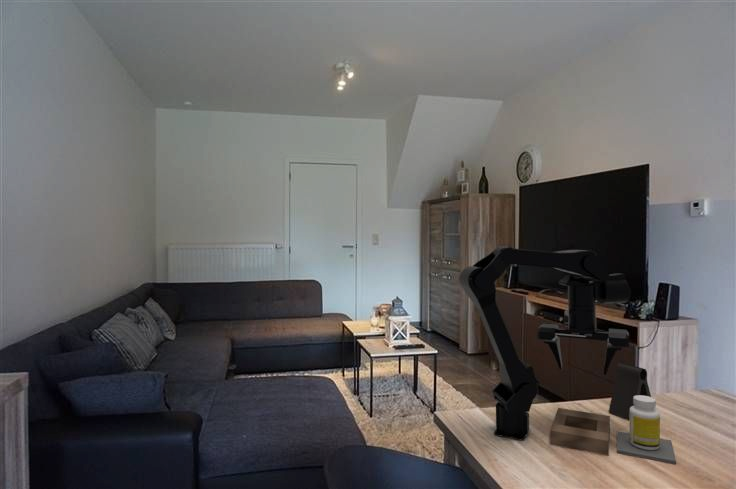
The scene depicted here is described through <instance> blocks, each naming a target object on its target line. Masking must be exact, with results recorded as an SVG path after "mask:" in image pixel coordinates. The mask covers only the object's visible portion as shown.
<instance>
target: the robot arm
mask: <svg viewBox="0 0 736 489" xmlns="http://www.w3.org/2000/svg"><path fill="white" fill-rule="evenodd" d="M511 265H519V266H531V267H541V268H551V269H556V270H558V271H561V272H565V273H568V274H565V275H564V277H563V278H561V279H560V280H559V281H558V284H559V285H562V286H566V287H567V306H568V307H567V309H565V310H564V313H563V314H564V316H563V322H564V324H565V325H568V328H559V325H558V324H550V323H542V324H541V325H540V326H539V327H538V328H537V339H538V340H543V344H545V345H546V344H547V345H548V347H549V348H550V350H551V352H552V354H553V356H554V359H555V362H556V363H557V366H558V369H559V371H560V370H561V371H562V369H563V359H562V352H561V342H560V341H561V340H560V338H572V339H582V340H583V339H585V340H595V341H606V342H607V344H606V350H605V357H604V358H605V360H604V363H603V364H604V366H603V375H604V376H606V375H607V373H608V370H609V368H610V365H611V362H612V360H613V358H614V356H615V355H616V353H617V351H623V348H629V347H630V332H629V331H628V330H627V329H620V328H608V332H605V331H597V329H598V325H597V324H598V322H597V321H598V320H597V315H596V313H597V311H596V307H597V305H596V304H597V303H596V302H598V303H599V304H601V305H602V304H603V305H604V304H624V303H627V302H629V301H630V299H631V297H632V289H631V287H630V284H629V282H628V281H627V280H626V279H625V274H624V273H619V272H618V273H612V274H609V273H608V271H607V270H606V269H605V267H604V266H603V265H602V263H601V261H600V257H599V256H598V254H597V253H596V252H595V251H593V250H588V249H587V250H585V249H567V250H566V249H565V250H559V251H545V250H537V249H536V250H535V249H525V248H515V247H514V248H513V247H511V246H505V245H504V246H503V245H502V246H500V245H499V246H497V247H496V248H494V250H493V251H491V252H490V253H489V254H487V255H486V256H484V257H482V258H480V260H478V261H477V262H475V263H474V264H473V265H469V266H466V267H465V268H463V270H462V271H461V272H460V274H459V276H458V279H459V284H460V287H462V289H463V291H464V292H465V294H466V295H467V297H468V298H469V299H470V300H471V302H472V303H473V304H474V306H475V307H476V309H477V312H478V314H479V316H480V319H481V321H482V324H483V327H484V328H485V330H486V334H487V336H488V338H489V341H490V344H491V345H492V348H493V351H494V353H495V355H496V359H497V360H498V363H499V365H498V367H499V368H498V369H499V371H498V373H499V377H500V382H499V383H498V384H497V385H496V386H495V387H494V388H493V389H492V390H491V395H492V397H493V399H494V400H495V401H496V402H497V403H496V404H495V430H494V432H493V434H494V436H499V437H504V438H509V439H515V440H520V441H524V440H525V438H526V437H527V436H528V434H529V432H530V413H529V412H530V410H531V407H532V404H533V401H534V400H535V398H536V396H537V394H539V387H538V384H540V381H539V380H538V379H537V378H536V375H535V371H534V367H533V366H532V365H530V364H529V363H527V362H526V361H524V360H523V359H520V358H519V356H518V354H517V351H516V349H515V346H514V343H513V341H512V338H511V336H510V333H509V331H508V328H507V326H506V323H505V321H504V319H503V316H502V314H501V311H500V309H499V306H498V304H497V288H496V284H495V282H496V281H497V280H498V279H499V278H501V277H502V275H503V274H504V272H505V271H506V270H507V268H508V267H510V266H511ZM572 274H573V275H579V276H580V277H574V276H573V275H572ZM588 279H592V280H590V281H589V280H588Z"/></svg>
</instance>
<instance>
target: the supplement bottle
mask: <svg viewBox="0 0 736 489" xmlns="http://www.w3.org/2000/svg"><path fill="white" fill-rule="evenodd" d="M633 404H634V406H632V407H630V410H629V420H628V421H629V425H628V426H629V430H628V431H629V432H628V433H629V439H630V443H631V444H632V445H634V446H635V447H638V448H640V449H644V450H656V449H658V448H659V447H660V438H661V437H660V436H661V433H660V430H661V429H660V427H661V425H660V422H661V417H660V412H659V410H657V409H656V406H657V405H656V404H657V401H656V399H655V398H654V397H652V396H651V397H649V396H643V395H636V396H634V397H633Z"/></svg>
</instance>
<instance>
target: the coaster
mask: <svg viewBox="0 0 736 489" xmlns="http://www.w3.org/2000/svg"><path fill="white" fill-rule="evenodd" d="M616 434H617V437H616V438H617V439H616V441H617V443H616V447H617V448H616V453H617V454H620V455H625V456H631V457H634V458H635V457H636V458H640V459H647V460H652V461H658V462H662V463H668V464H673V465H677V458H676V455H675V450H674V446H673V441H672V440H671V439H665V438H661V437H660V447H659V448H658V449H656V450H644V449H640V448H638V447H635V446H634V445H632V444H631V443H630V439H629V432H625V431H619V430H617V432H616Z"/></svg>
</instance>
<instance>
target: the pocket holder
mask: <svg viewBox="0 0 736 489" xmlns="http://www.w3.org/2000/svg"><path fill="white" fill-rule="evenodd" d="M610 436H611V416H610V415H608V414H599V413H593V412H587V411H581V410H575V409H568V408H563V407H558V408H557V409H556V413H555V414H554V418H553V420H552V424H551V426H550V430H549V439H550V440H549V445H553V446H558V447H563V448H567V449H568V448H569V449H574V450H578V451H582V452H588V453H594V454H599V455H604V456H609V453H610Z"/></svg>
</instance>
